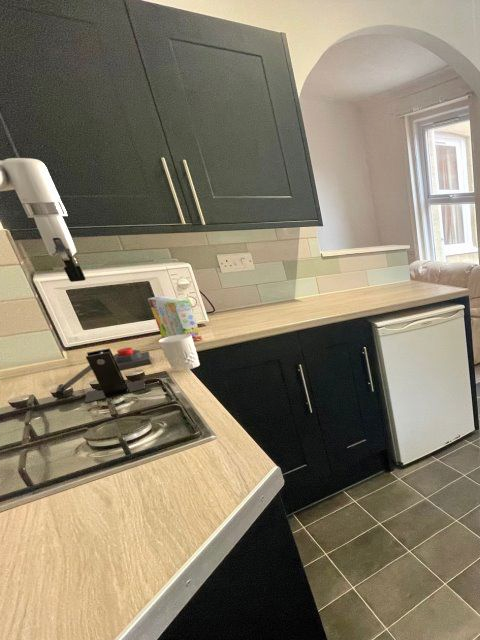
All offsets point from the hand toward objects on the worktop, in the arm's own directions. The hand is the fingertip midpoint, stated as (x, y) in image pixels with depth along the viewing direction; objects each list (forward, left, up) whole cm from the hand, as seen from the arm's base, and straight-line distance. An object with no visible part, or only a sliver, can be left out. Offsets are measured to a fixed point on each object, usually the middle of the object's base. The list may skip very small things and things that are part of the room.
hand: (78, 280), depth 119 cm
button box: (+3, +1, -27) cm, 27 cm away
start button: (+3, +1, -24) cm, 24 cm away
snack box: (+18, +26, -27) cm, 42 cm away
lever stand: (0, -26, -27) cm, 38 cm away
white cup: (+16, -18, -27) cm, 36 cm away
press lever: (-4, -26, -21) cm, 33 cm away
